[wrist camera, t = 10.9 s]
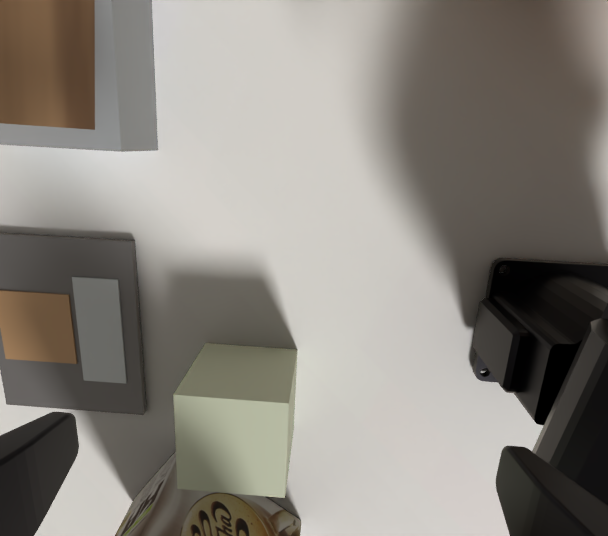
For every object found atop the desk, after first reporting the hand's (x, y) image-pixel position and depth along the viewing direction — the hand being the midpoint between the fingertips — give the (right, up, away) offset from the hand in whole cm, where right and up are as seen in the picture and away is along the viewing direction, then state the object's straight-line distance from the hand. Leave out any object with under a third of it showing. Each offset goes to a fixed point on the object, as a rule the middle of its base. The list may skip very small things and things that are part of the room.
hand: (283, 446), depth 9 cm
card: (-12, +1, +14) cm, 19 cm away
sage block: (-3, -3, +15) cm, 15 cm away
